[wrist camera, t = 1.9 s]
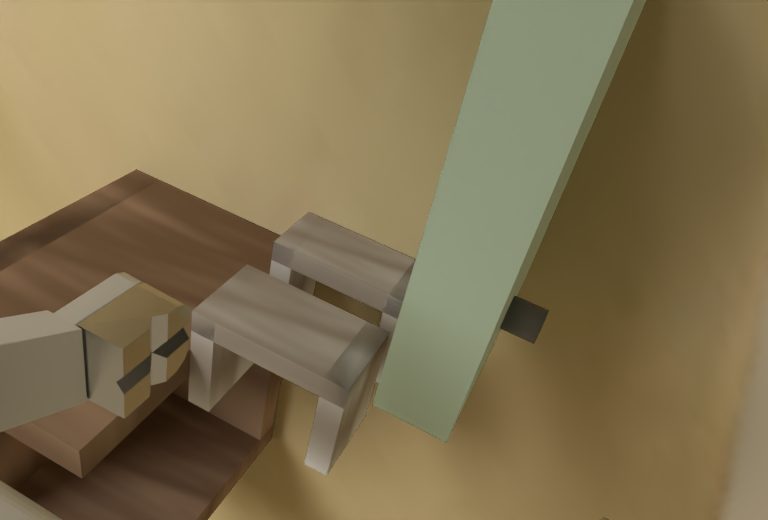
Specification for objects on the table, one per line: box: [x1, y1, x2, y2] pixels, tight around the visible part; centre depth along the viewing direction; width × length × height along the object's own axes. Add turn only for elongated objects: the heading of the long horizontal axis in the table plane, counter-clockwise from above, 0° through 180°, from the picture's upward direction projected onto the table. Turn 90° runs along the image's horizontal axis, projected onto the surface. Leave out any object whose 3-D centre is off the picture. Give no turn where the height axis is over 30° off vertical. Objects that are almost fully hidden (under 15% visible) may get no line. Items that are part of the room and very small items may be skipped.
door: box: [372, 0, 646, 442], centre depth 20 cm, size 13×4×10 cm, turn 168°
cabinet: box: [0, 170, 415, 520], centre depth 30 cm, size 17×16×14 cm
